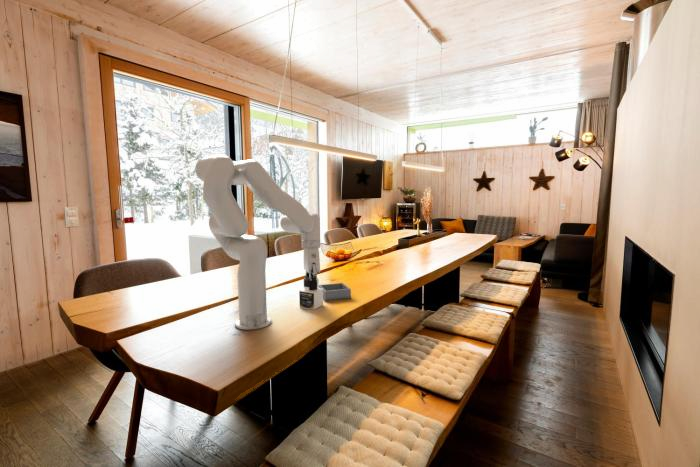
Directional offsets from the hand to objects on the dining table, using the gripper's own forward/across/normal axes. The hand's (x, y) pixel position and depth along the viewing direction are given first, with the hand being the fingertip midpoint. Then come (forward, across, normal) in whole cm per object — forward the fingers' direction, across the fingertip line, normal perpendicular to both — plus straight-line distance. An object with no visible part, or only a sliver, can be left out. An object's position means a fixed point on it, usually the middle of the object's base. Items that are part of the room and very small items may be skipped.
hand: (311, 287), depth 143 cm
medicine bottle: (+8, 0, 0) cm, 8 cm away
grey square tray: (+8, +10, -13) cm, 18 cm away
